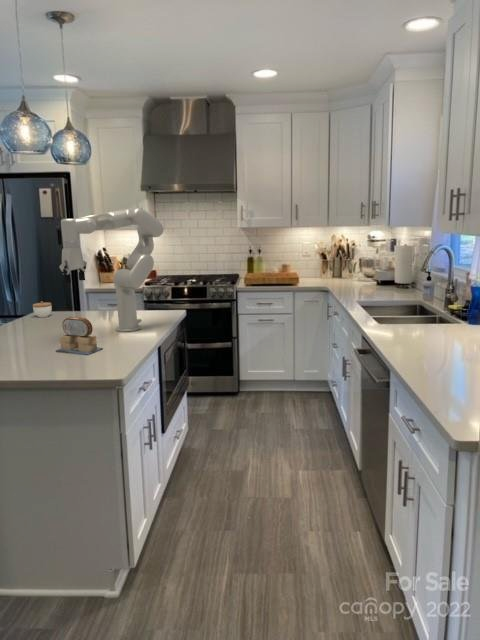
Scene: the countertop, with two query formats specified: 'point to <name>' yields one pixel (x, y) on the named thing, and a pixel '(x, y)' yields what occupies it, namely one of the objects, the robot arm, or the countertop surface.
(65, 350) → the bridge base
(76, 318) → the tin
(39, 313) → the lidded jar
